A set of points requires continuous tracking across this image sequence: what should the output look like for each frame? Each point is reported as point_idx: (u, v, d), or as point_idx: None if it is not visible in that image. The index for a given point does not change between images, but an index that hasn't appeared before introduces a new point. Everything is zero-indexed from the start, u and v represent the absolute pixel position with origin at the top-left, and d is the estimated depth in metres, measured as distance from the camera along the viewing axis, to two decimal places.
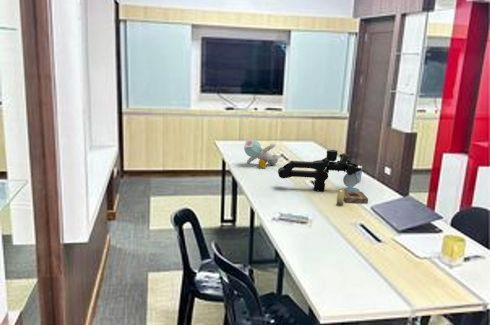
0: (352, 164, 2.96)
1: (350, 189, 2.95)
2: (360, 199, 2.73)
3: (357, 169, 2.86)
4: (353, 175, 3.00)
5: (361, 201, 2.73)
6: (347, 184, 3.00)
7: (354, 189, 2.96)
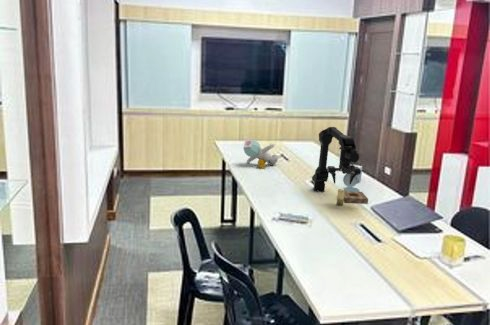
0: (351, 178, 2.64)
1: (350, 189, 2.96)
2: (360, 199, 2.73)
3: (333, 178, 2.65)
4: None
5: (361, 201, 2.73)
6: (347, 184, 3.01)
7: (354, 189, 2.96)
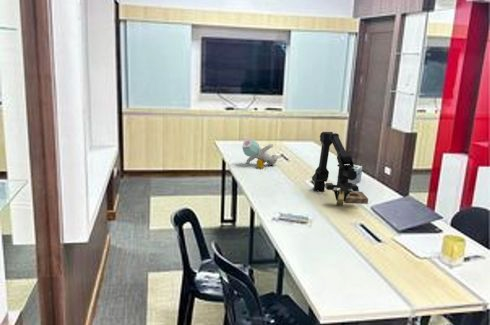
0: (345, 195, 2.67)
1: None
2: (360, 199, 2.73)
3: (335, 195, 2.67)
4: None
5: (361, 201, 2.73)
6: None
7: None
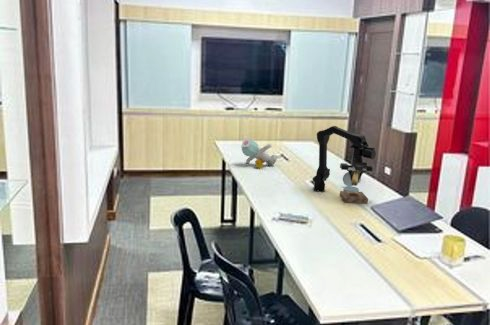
0: (359, 175, 2.74)
1: (349, 188, 2.97)
2: (360, 199, 2.73)
3: (349, 175, 2.75)
4: None
5: (361, 201, 2.73)
6: (346, 183, 3.02)
7: (353, 188, 2.98)
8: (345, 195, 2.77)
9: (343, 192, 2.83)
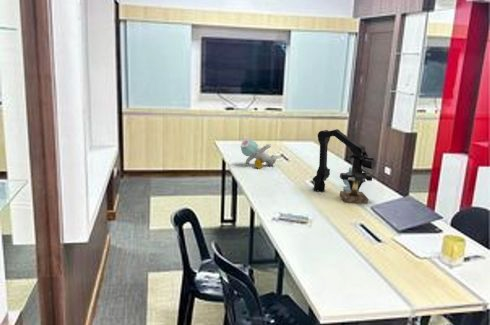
0: (359, 184, 2.77)
1: (349, 188, 2.97)
2: (360, 199, 2.73)
3: (349, 185, 2.77)
4: None
5: (361, 201, 2.73)
6: (346, 183, 3.03)
7: None
8: (345, 195, 2.77)
9: (343, 192, 2.83)
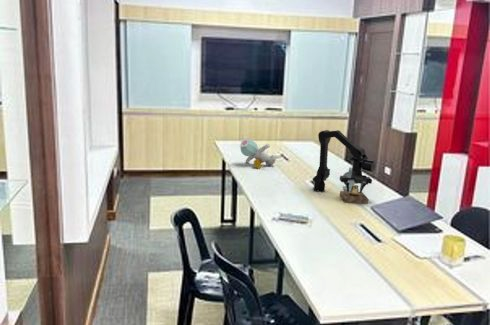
0: (361, 187, 2.77)
1: (349, 188, 2.98)
2: (360, 199, 2.73)
3: (346, 187, 2.78)
4: None
5: (361, 201, 2.73)
6: None
7: None
8: (345, 195, 2.77)
9: (343, 192, 2.83)
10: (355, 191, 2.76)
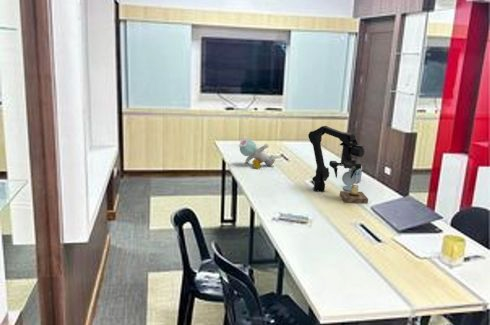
0: (352, 173, 2.78)
1: (349, 187, 2.99)
2: (360, 199, 2.73)
3: (335, 172, 2.78)
4: None
5: (361, 201, 2.73)
6: (346, 182, 3.04)
7: None
8: (345, 195, 2.77)
9: (343, 192, 2.83)
10: (355, 191, 2.76)
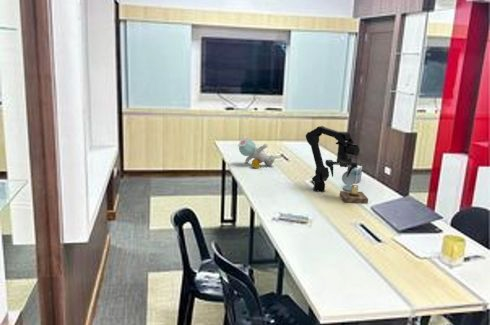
0: (348, 171, 2.79)
1: (348, 187, 2.99)
2: (360, 199, 2.73)
3: (331, 171, 2.79)
4: (352, 173, 3.04)
5: (361, 201, 2.73)
6: (346, 182, 3.04)
7: None
8: (345, 195, 2.77)
9: (343, 192, 2.83)
10: (355, 191, 2.76)
